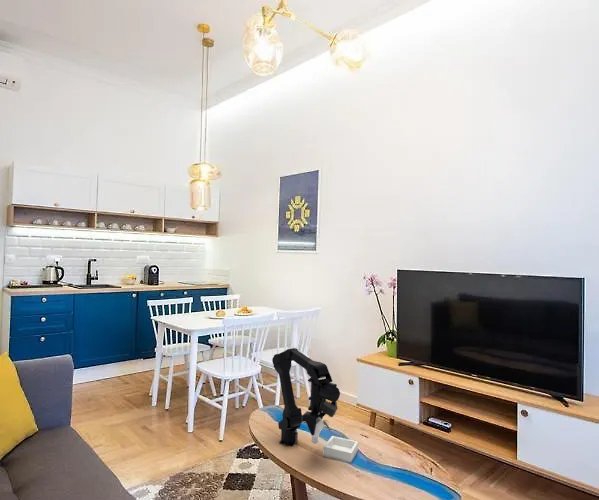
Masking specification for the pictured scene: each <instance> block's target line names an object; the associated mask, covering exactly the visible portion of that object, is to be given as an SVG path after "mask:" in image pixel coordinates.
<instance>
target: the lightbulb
mask: <svg viewBox="0 0 599 500" xmlns="http://www.w3.org/2000/svg"><path fill="white" fill-rule="evenodd" d="M319 420H320V421H319V422H318V423H317V424H316V429H315V434H314V435H311V443H312V444H314V445H315V444H318V443H319V436H320V433H321V432H322V431H323V429H324V426H325V424H323V421H324V420H323V419H321V418H320V417H319Z"/></svg>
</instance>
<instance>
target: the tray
mask: <svg viewBox="0 0 599 500" xmlns="http://www.w3.org/2000/svg"><path fill="white" fill-rule="evenodd" d="M322 449H323V451H322V452H323V454H322V456H323V457H325V458H329V459H333V460H336V461H337V460H338V461H341V462H345V463H348V464H351V463H352V462H353V460H354V459H355V457H356V455H357V454H358V452H359V441H356V440H352V439H350V438H349V439H348V438H345V437H341V436H339V437H338V436H336V435H332V436H330V438H329V439H328V440H327V442H326V443H325V444H324V445H323V448H322Z"/></svg>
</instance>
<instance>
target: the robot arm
mask: <svg viewBox="0 0 599 500" xmlns="http://www.w3.org/2000/svg"><path fill="white" fill-rule="evenodd" d="M271 360H272V366H273V368H274V370H275V371H276V373H277V374H278V376H279V377H278V378H279V381H280V382H279V383H280V388H281V395H282V400H283V404H284V408H283V411H282V413H281V414H282V419H281V420H280V421H279V422H278V424H277V425H278V429H279V430H281V432H280V433H281V434H280V441H279V443H278V444H282V445H286V446H290V447H293V446H294V445H295V444H296V443H297V442H298V439H299V438H298V435H299V433H298V431H297V430H298V429H300V427H301V425H302V422H304V423H306V425H307V428H308V430H309V432H310V435H311V436H312V435H314V434H315V429H316V424H317V423H318V422H319V421H320V420H319V417H320V418H321V419H322V420H323V418H324V417H325V416H326V415H327V416H328V417H330V418H333V417H334V416H335V415H336V413H337V411H338V408H339V406H338V404H337V403H338V402H337V401H338V400H339V399H340V395H341V392H340V389H339V388H338V387H337V385H338V384H336V383H332V382H333V379H332V375H331V373H330V371H329V368H328V366H327V364H325V363H324V362H321V361H317V360H313V359H311V358H310V357H309V356H307V355H305V354H304V353H302V352H301V351H299V349H298V348H296V347H294V348H287V349H285V350H284V351H282V352H280V353H275V354H274V355H273V357H272V359H271ZM292 361H293V362H295V363H296V364H297V365H299V366H300V367H301V368H304V370H305V371H306V374H307V375H308V376H309V377H310V378H309V379H307V382H309V383H310V395H309V397H308V401H309V407H308V408H307V410H308V411H305V412H304V413H303V414H302V409H301V407H298V406H297V405H296V399H295V394H294V388H293V384H292V378H291V374H290V373H291V372H290V371H291V368H292V367H293V366H292Z"/></svg>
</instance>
